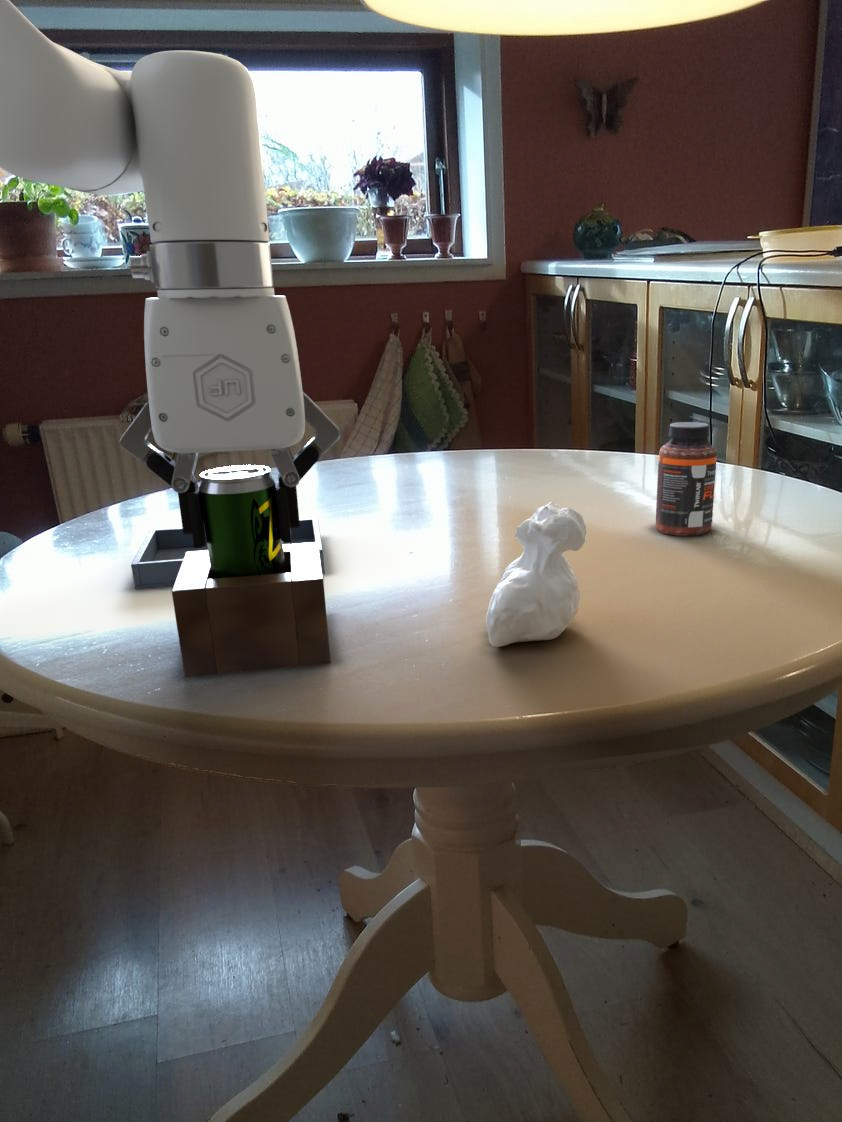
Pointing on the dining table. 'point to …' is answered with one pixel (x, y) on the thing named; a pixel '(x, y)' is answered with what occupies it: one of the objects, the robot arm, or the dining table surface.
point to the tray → (170, 545)
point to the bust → (538, 580)
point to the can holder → (251, 615)
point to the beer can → (241, 521)
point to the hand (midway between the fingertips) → (243, 538)
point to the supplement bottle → (686, 481)
